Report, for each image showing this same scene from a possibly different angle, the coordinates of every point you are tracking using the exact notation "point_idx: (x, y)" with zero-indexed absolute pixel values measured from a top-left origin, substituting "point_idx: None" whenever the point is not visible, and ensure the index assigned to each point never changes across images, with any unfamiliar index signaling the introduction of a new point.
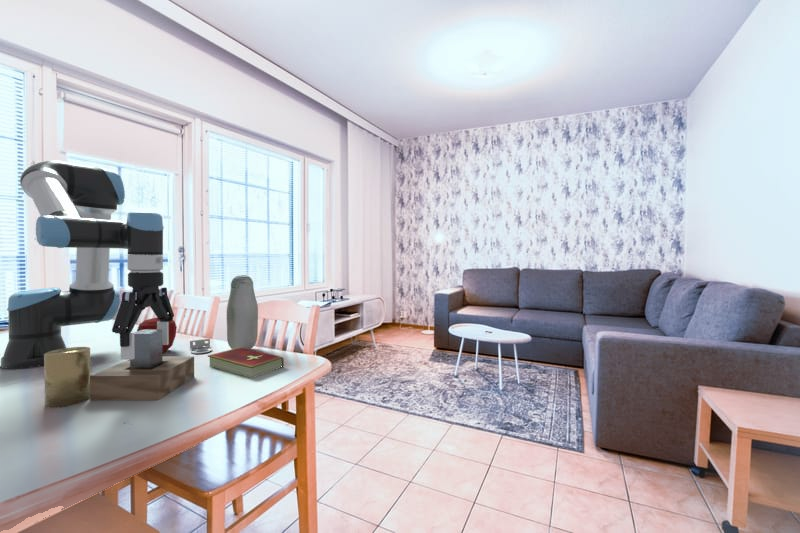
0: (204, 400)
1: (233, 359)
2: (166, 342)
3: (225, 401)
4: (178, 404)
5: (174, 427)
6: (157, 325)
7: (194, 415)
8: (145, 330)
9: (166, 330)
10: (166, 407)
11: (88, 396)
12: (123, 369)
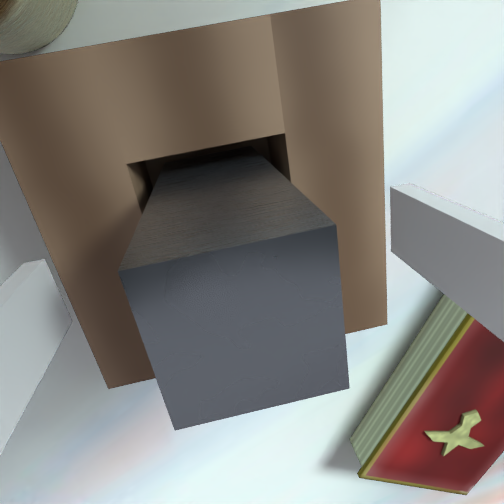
0: (165, 436)
1: (443, 385)
2: (398, 256)
3: (174, 480)
4: (119, 398)
5: (3, 481)
6: (501, 243)
7: (75, 475)
8: (293, 286)
9: (456, 301)
10: (90, 385)
11: (35, 46)
12: (129, 162)
